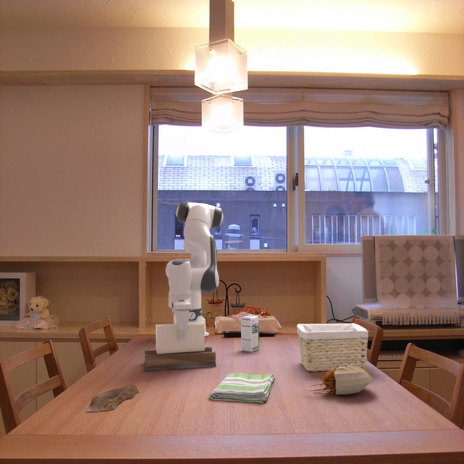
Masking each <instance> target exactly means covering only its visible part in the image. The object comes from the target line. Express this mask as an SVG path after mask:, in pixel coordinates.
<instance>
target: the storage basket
mask: <svg viewBox="0 0 464 464" xmlns="http://www.w3.org/2000/svg"><path fill="white" fill-rule="evenodd" d="M296 329H297V330H296V333H297V336H298V343H299V344H298V345H299V353H300V362H301V364H302V366H303V367H304V369H305V370H306V371H307V372H315V373H317V372H328V371H330V370H332V369H334V368H337V367H340V366H344V365H346V366H349V365H350V366H357V367H359V368H361V369H363V370H365V371H367V358H368V357H367V354H368V352H367V351H368V342H369V341H368V339H369V331H368V329H366V328H365V327H364V326H361V325H359V324H357V323H353V322H352V323H298V324H297V325H296Z"/></svg>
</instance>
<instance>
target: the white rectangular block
mask: <svg viewBox="0 0 464 464" xmlns="http://www.w3.org/2000/svg"><path fill="white" fill-rule="evenodd" d="M205 328H206V323H205V324H204V323H203V322H197V323H188V329H187V330H186V331H184V340H183V341H179V331H178V329H177V327H176V325H175V324H174V323H161V324H155V350H156V353H157V354H165V353H179V352H194V351H205V347H206V345H205V344H206V343H205V342H206V341H205V339H206V338H205V337H206V336H205Z"/></svg>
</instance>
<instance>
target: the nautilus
mask: <svg viewBox="0 0 464 464" xmlns="http://www.w3.org/2000/svg"><path fill="white" fill-rule="evenodd" d="M311 376H313V378H310V379H309V381H313V380H317V377H319V376H321V377H320V378H319V380H320V382H322V383H320V384H313V385H311V387H314V386H315V387H316V386H320V387H322V388H318V389H313V390H312V389H311V390H309V392H312V394H314V395H316V394H318V395H319V394H321V395H322V397H323V396H327V395H333V394H335V395H341V396H342V395H345V396H346V395H350V394H351V395H352V394H358V393H360V392H361V391H363V390H364V389H365V388H366V387H368V385H369V384H371V382H372V380H373V377H372V375H370V373H369V372H368V371H367V370H363V369H361V368H359V367H357V366H350V365H349V366H346V365H344V366H340V367H337V368H334V369H332V370H330V371H320V372H315V373H312V374H311ZM305 381H308V379H306V380H305ZM324 392H325V393H324Z"/></svg>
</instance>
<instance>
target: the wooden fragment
mask: <svg viewBox="0 0 464 464" xmlns="http://www.w3.org/2000/svg"><path fill="white" fill-rule="evenodd" d="M137 393H140V391H139V390H138V388H137V386H136V384H135V383H130V384H127V385H124V386H121V387H118V388H114V389H110V390H108V391H106V392H103V393H101V394H98V395H95V396H94V397H93V398H92V400H91V401H90V404H89V406H88V409H87V411H86V414H91V413H103V412H109V411H115V409H117V407H118V406H119V405H121V404H122V403H123V402H124V401H126V400H129V399H132V398H133V397H135V395H136V394H137Z"/></svg>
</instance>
